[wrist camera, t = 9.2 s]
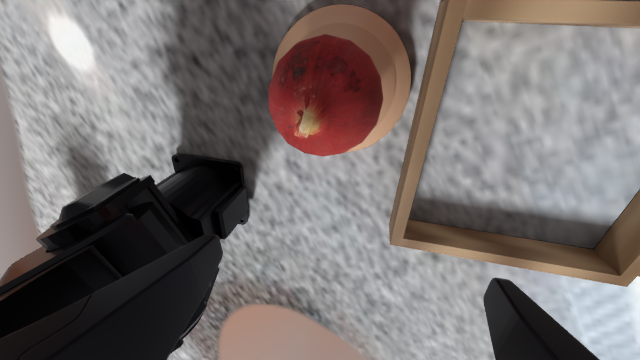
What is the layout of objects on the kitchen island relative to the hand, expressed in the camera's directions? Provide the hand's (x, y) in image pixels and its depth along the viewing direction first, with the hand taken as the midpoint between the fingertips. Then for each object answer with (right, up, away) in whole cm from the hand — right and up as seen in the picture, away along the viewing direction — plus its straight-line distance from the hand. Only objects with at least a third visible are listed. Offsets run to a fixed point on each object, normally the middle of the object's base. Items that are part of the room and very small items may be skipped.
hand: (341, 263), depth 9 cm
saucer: (+1, +9, +9) cm, 13 cm away
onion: (0, +9, +8) cm, 12 cm away
